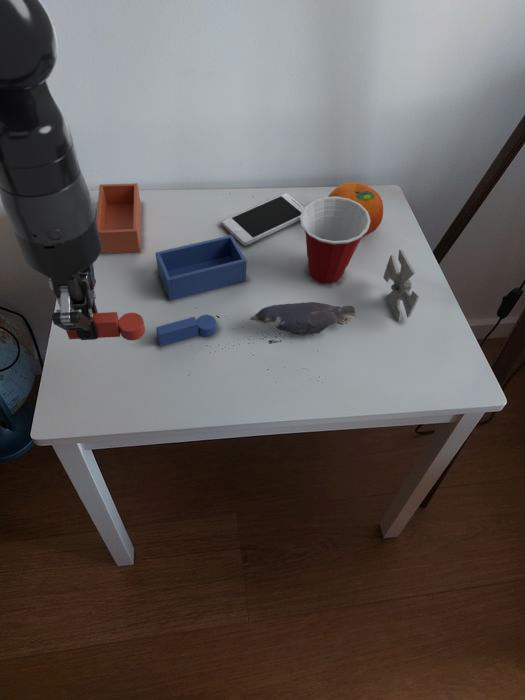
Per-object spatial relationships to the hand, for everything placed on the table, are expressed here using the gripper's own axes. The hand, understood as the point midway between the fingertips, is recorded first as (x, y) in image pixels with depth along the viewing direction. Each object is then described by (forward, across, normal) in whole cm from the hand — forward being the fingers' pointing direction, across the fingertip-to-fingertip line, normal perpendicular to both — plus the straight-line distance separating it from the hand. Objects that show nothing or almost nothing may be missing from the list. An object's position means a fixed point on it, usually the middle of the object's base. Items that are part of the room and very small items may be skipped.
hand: (90, 330), depth 62 cm
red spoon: (+1, 0, +2) cm, 2 cm away
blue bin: (+12, -21, +14) cm, 28 cm away
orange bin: (+12, -34, 0) cm, 36 cm away
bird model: (+12, -8, +29) cm, 33 cm away
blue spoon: (+12, -8, +11) cm, 19 cm away
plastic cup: (+12, -20, +35) cm, 42 cm away
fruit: (+12, -32, +42) cm, 54 cm away
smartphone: (+12, -35, +27) cm, 46 cm away
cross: (+12, -12, +45) cm, 48 cm away
